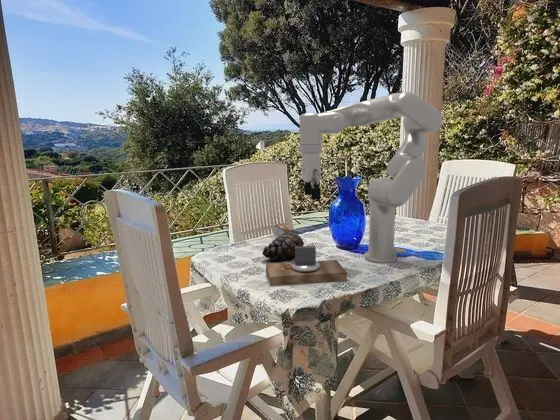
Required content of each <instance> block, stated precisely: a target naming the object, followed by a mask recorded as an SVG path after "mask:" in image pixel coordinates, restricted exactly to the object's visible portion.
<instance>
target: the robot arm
mask: <svg viewBox="0 0 560 420" xmlns="http://www.w3.org/2000/svg"><path fill="white" fill-rule="evenodd" d="M400 117H402V118H403V120H402V121H403V122H402V123H403V125H402V126H403V129H404V135H405V136H404V140H403V143H401V146H400V147H399V148H398V149H397V151H396V153H395V154H394V155H393V156H392V158H391V160H390V161H389V163H388V164H387V166H386V173H387V174H388V176H389V177H391V178H387V177H378V178H377V177H376V178H375V179H373V180H372V181H371V182H370V183H369V186H368V191H367V193H368V194H367V195H368V203H369V220H368V221H369V224H368V251H367V252H364V254H363V258H364V259H365V260H367V261H369V262H372V263H379V264H389V263H394V262H396V261H397V260H398V254H406V252H407V251H406V248H405V247H404V248H400V247H398V246H397V247H395V246H394V245H395V226H396V225H395V224H396V210H395V208H400V207H402V206H403V205H405V204H406V203H407V202H408V201H409V199H410V198H411V197H412V195H413V194H414V193H415V191H416V190H417V188H418V187H419V186H420V184H421V183H422V181H423V180H424V178H425V175H426V171H427V166H426V162H425V161H424V160H423V159H422V156H423V154H424V153H425V151H426V147H427V136H426V133H433V132H436V131H437V130H439V129H440V128H441V126H442V124H443V115H442V113H441V112H440V110H439V109H437V108H436V107H435V106H434V105H432V103H429V102H428V101H426V100H425V99H424V98H422V97H420V96H419V95H417V94H415V93H413V92H410V91H403V92H402V91H401V92H395V93H390V94H387V95H382V96H378V97H375V98H371V99H367V100H364V101H360V102H357V103H353V104H350V105H347V106H342V107H339V108H334V109H331V110H327V111H324V112H321V113H319V112H310V113H309V112H307V113H302V114H301V115H299V142H300V144H299V147H300V154H301V180H303V184H304V185H303V186H304V187H303V188H304V196H310V197H311V198H310V200H313V201H314V200H315V201H316V200H321V180H322V169H321V168H322V167H321V166H322V165H321V154H322V153H323V139H322V138H323V136H322V134H328V135H329V134H330V135H334V134H338V133H340V132H342V131H343V130H344V129H346V128H351V127H361V126H362V127H363V126H369V125H373V124H377V123H379V122H383V121H387V120H391V119H395V118H400Z"/></svg>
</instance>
